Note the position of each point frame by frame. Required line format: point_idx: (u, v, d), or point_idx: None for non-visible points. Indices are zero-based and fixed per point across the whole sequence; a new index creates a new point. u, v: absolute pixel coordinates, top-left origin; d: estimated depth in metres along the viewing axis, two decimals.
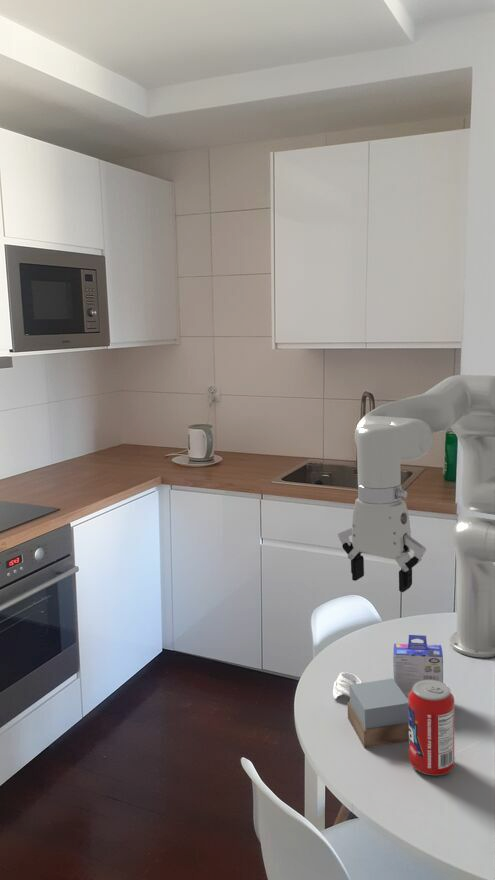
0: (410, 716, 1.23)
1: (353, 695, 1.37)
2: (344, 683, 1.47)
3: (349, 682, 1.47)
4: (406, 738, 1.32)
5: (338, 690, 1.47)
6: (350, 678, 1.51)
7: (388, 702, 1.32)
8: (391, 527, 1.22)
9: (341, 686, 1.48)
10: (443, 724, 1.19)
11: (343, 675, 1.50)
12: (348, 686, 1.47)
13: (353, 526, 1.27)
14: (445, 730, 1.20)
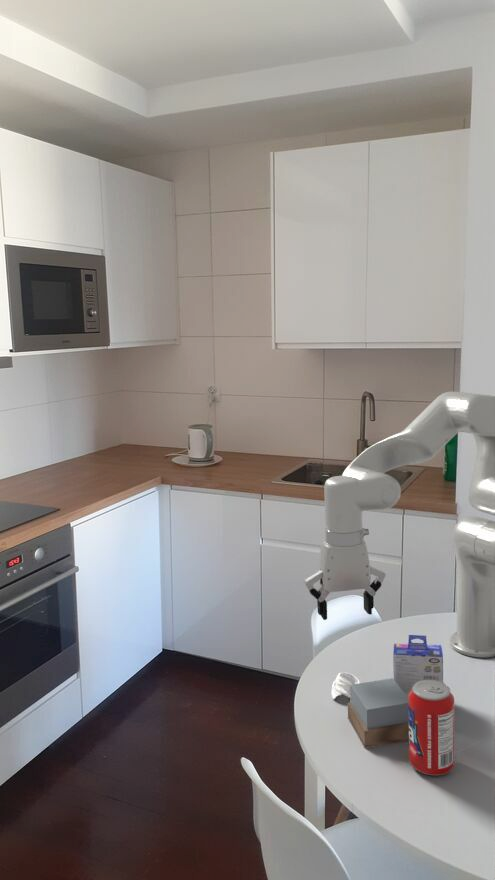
0: (410, 716, 1.23)
1: (354, 695, 1.37)
2: (343, 683, 1.47)
3: (348, 682, 1.47)
4: (406, 738, 1.32)
5: (337, 690, 1.47)
6: (348, 678, 1.51)
7: (389, 702, 1.32)
8: (364, 562, 1.43)
9: (340, 686, 1.47)
10: (443, 724, 1.19)
11: (342, 675, 1.50)
12: (347, 686, 1.47)
13: (327, 571, 1.42)
14: (445, 730, 1.20)
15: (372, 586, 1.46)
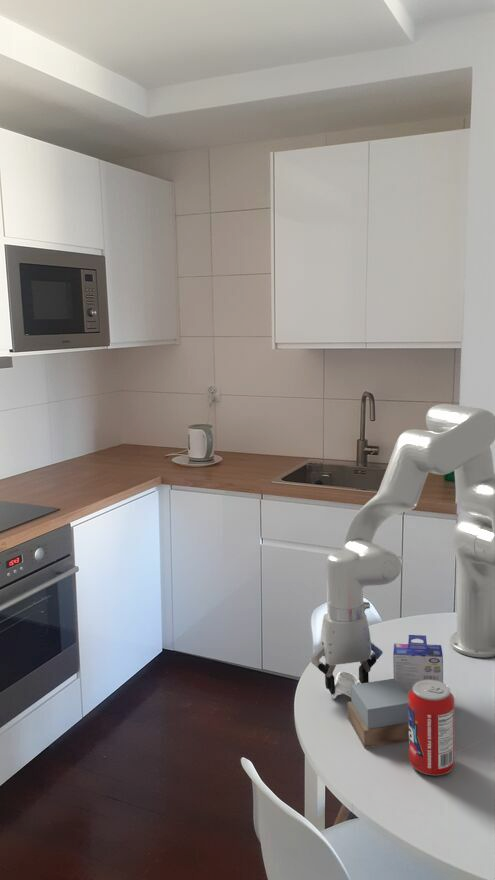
0: (410, 716, 1.23)
1: (355, 695, 1.36)
2: (343, 682, 1.47)
3: (348, 681, 1.47)
4: (406, 738, 1.32)
5: (337, 689, 1.47)
6: (348, 677, 1.51)
7: (390, 702, 1.32)
8: (365, 635, 1.46)
9: (340, 685, 1.47)
10: (443, 724, 1.19)
11: (341, 674, 1.50)
12: (347, 685, 1.47)
13: (329, 645, 1.45)
14: (445, 730, 1.20)
15: None
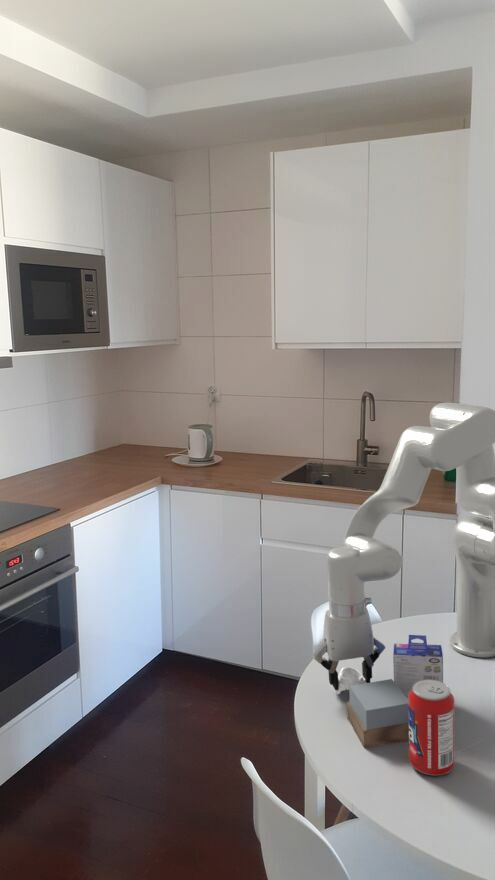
0: (410, 716, 1.23)
1: (353, 696, 1.36)
2: (346, 678, 1.47)
3: (351, 677, 1.47)
4: (405, 738, 1.32)
5: (340, 685, 1.47)
6: (351, 673, 1.51)
7: (389, 703, 1.32)
8: (367, 631, 1.46)
9: (343, 681, 1.48)
10: (443, 724, 1.19)
11: (345, 670, 1.50)
12: (350, 681, 1.47)
13: (331, 641, 1.45)
14: (445, 730, 1.20)
15: None
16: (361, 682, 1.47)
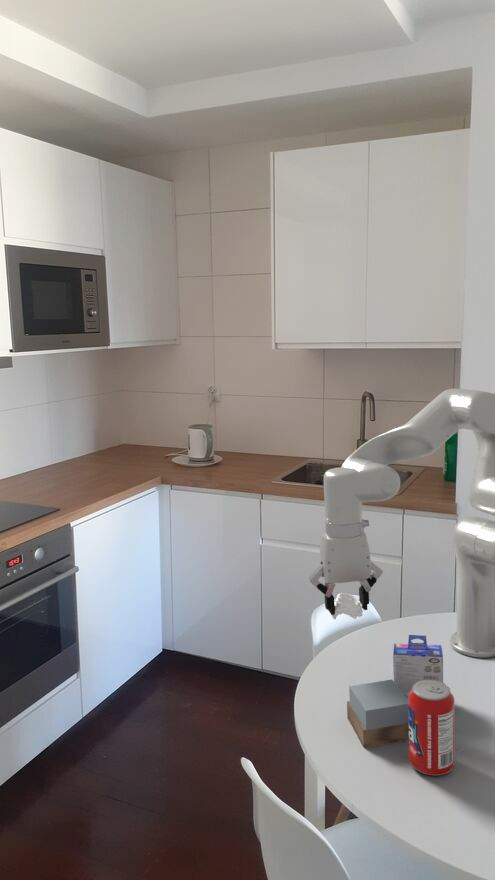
0: (410, 716, 1.23)
1: (353, 696, 1.36)
2: (343, 602, 1.44)
3: (348, 601, 1.44)
4: (405, 738, 1.32)
5: (337, 609, 1.44)
6: (348, 599, 1.48)
7: (389, 703, 1.31)
8: (365, 553, 1.43)
9: (340, 606, 1.44)
10: (443, 724, 1.19)
11: (341, 596, 1.47)
12: (347, 605, 1.44)
13: (327, 563, 1.42)
14: (445, 730, 1.20)
15: None
16: (358, 606, 1.44)
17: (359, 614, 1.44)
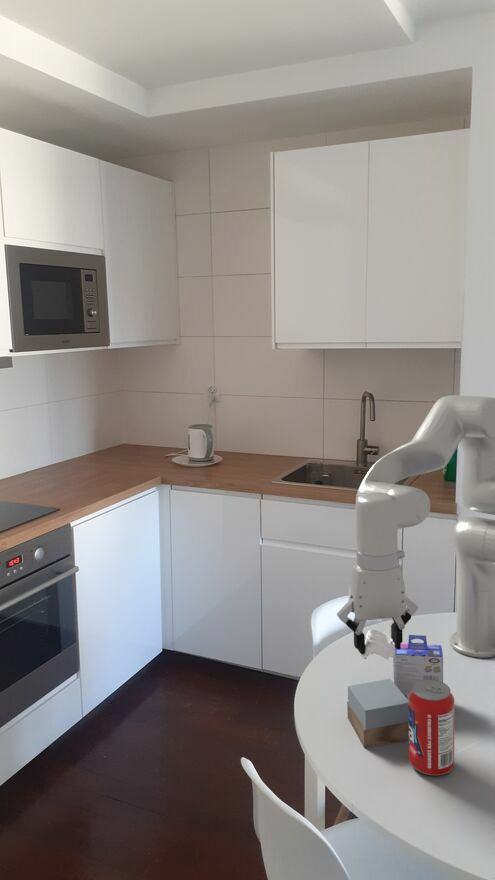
0: (410, 716, 1.23)
1: (352, 696, 1.36)
2: (374, 641, 1.31)
3: (380, 639, 1.31)
4: (405, 738, 1.32)
5: (367, 649, 1.31)
6: (379, 636, 1.35)
7: (388, 703, 1.32)
8: (399, 587, 1.29)
9: (371, 644, 1.31)
10: (443, 724, 1.19)
11: (372, 633, 1.34)
12: (379, 644, 1.30)
13: (359, 597, 1.29)
14: (445, 730, 1.20)
15: None
16: (391, 645, 1.30)
17: (392, 654, 1.31)
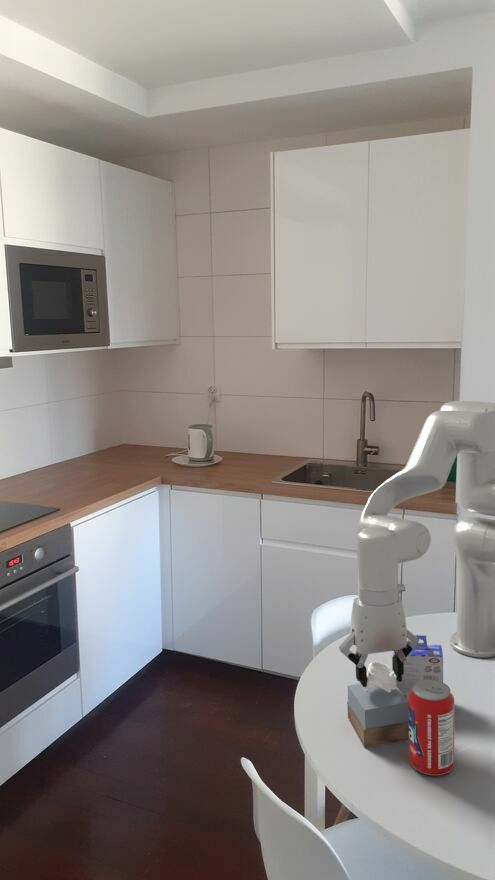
0: (410, 716, 1.23)
1: (352, 696, 1.36)
2: (376, 674, 1.32)
3: (381, 673, 1.32)
4: (405, 737, 1.32)
5: (369, 682, 1.32)
6: (381, 668, 1.36)
7: (387, 702, 1.32)
8: (400, 621, 1.31)
9: (372, 677, 1.33)
10: (443, 724, 1.19)
11: (373, 665, 1.35)
12: (380, 677, 1.32)
13: (360, 632, 1.30)
14: (445, 730, 1.20)
15: None
16: (392, 678, 1.32)
17: (393, 687, 1.33)
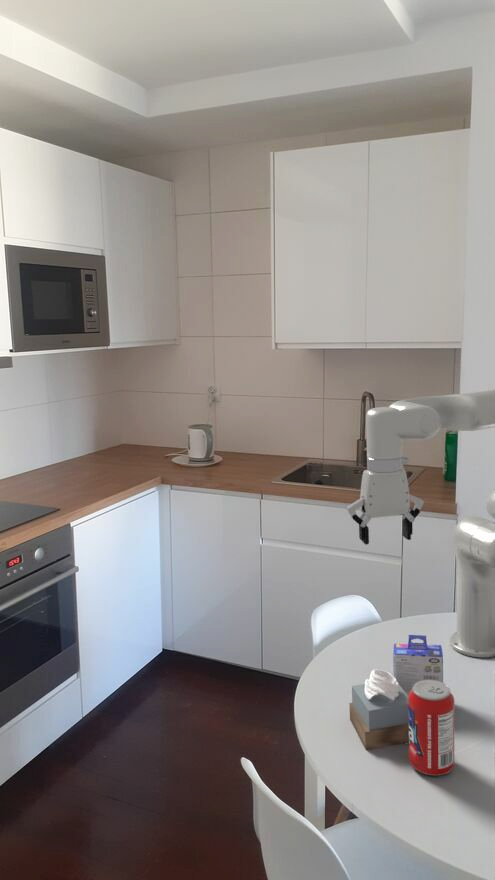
0: (410, 716, 1.23)
1: (356, 696, 1.36)
2: (379, 681, 1.32)
3: (384, 680, 1.32)
4: (407, 740, 1.31)
5: (372, 689, 1.32)
6: (382, 676, 1.36)
7: (392, 703, 1.31)
8: (404, 488, 1.50)
9: (375, 685, 1.33)
10: (443, 724, 1.19)
11: (375, 673, 1.35)
12: (383, 684, 1.32)
13: (369, 497, 1.49)
14: (445, 730, 1.20)
15: (411, 513, 1.53)
16: (395, 686, 1.32)
17: (396, 694, 1.33)
